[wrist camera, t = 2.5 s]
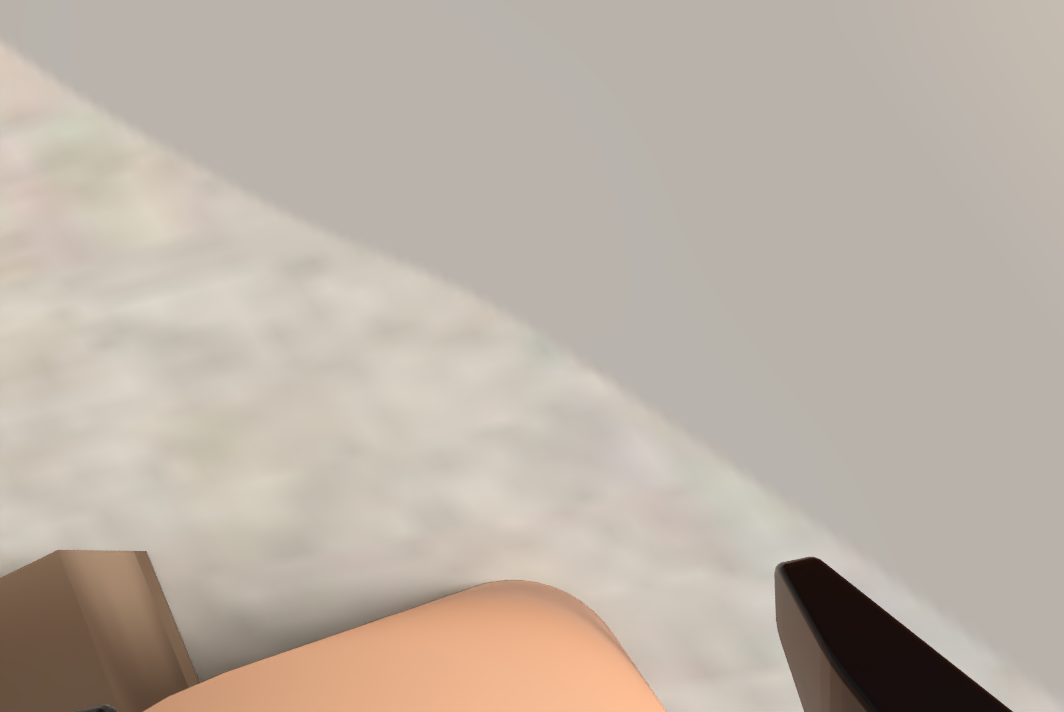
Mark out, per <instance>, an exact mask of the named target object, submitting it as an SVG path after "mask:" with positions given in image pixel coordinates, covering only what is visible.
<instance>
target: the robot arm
mask: <svg viewBox="0 0 1064 712" xmlns="http://www.w3.org/2000/svg"><path fill="white" fill-rule="evenodd" d="M774 577H775V604H776V622H777V628H778V633H779V637H780V640H781V643H782V647H783V650H784V652H785V655H786V658H787V661H788V664H789V667H790V670H791V673H792V676H793V679H794V682H795V685H796V688H797V691H798V694H799V697H800V700H801V703H802V706H803V709H804V712H1013V711H1011V710H1010V709H1009V708H1008V707H1006V706H1005V705H1004V704H1002V703H1001V702H1000V701H999V700H997V699H996V698H995V697H994V696H992V695H991V694H990V693H989V692H987V691H986V690H985V689H984V688H982V687H981V686H980V685H978V684H977V683H976V682H975V681H973V680H972V679H971V678H970V677H968V676H967V675H966V674H965V673H963V672H962V671H961V670H960V669H958V668H957V667H956V666H954V665H953V664H952V663H951V662H949V661H948V660H947V659H946V658H944V657H943V656H942V655H941V654H939V653H938V652H937V651H935V650H934V649H933V648H932V647H930V646H929V645H928V644H927V643H925V642H924V641H923V640H922V639H920V638H919V637H918V636H917V635H915V634H914V633H913V632H911V631H910V630H909V629H908V628H906V627H905V626H904V625H903V624H901V623H900V622H899V621H898V620H896V619H895V618H894V617H892V616H891V615H890V614H889V613H887V612H886V611H885V610H884V609H882V608H881V607H880V606H879V605H877V604H876V603H875V602H874V601H872V600H871V599H870V598H868V597H867V596H866V595H865V594H863V593H862V592H861V591H860V590H858V589H857V588H856V587H855V586H853V585H852V584H851V583H849V582H848V581H847V580H846V579H844V578H843V577H842V576H841V575H839V574H838V573H837V572H836V571H834V570H833V569H832V568H831V567H829V566H828V565H827V564H825V563H824V562H823V561H822V560H820V559H818V558H815V557H806V558H801V559H796V560H792V561H787V562H782V563H780V564H778V565H777V566H776V569H775V575H774ZM72 712H118V711H117V709H116V708H115V707H113V706H111V705H109V704H102V705H98V706H93V707H88V708H83V709H78V710H75V711H72Z"/></svg>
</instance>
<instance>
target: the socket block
mask: <svg viewBox="0 0 1064 712" xmlns="http://www.w3.org/2000/svg"><path fill="white" fill-rule="evenodd" d="M199 683H200V682H199V680H198V678H197V675H196V673H195V670H194V668H193V665H192V663H191V660H190V658H189V655H188V653H187V650H186V648H185V645H184V643H183V640H182V638H181V636H180V633H179V631H178V628H177V626H176V623H175V621H174V618H173V616H172V613H171V611H170V608H169V606H168V603H167V601H166V599H165V596H164V594H163V591H162V589H161V586H160V584H159V581H158V579H157V576H156V574H155V571H154V569H153V566H152V564H151V561H150V559H149V557H148V554H147V552H146V551H86V550H57V551H55V552H53V553H51V554H49V555H47V556H45V557H43V558H41V559H39V560H37V561H35V562H33V563H31V564H29V565H27V566H24V567H22V568H20V569H18V570H16V571H14V572H12V573H10V574H8V575H6V576H4V577H2V578H0V712H72V711H75V710H78V709H83V708H88V707H93V706H98V705H102V704H109V705H111V706H113V707H115V708H116V709H117V711H118V712H143V711H145V710H146V709H148V708H150V707H152V706H153V705H155V704H157V703H158V702H160V701H162V700H163V699H165V698H167V697H169V696H171V695H174V694H176V693H178V692H181V691H183V690H185V689H188V688H190V687H192V686H195V685H197V684H199Z"/></svg>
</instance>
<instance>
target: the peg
mask: <svg viewBox="0 0 1064 712" xmlns="http://www.w3.org/2000/svg"><path fill="white" fill-rule="evenodd" d="M143 712H667V711H666V710H665V708H664V707H663V705H662V704H661V703H660V701H659V700H658V698H657V697H656V695H655V694H654V692H653V691H652V689H651V688H650V687H649V685H648V684H647V682H646V681H645V679H644V678H643V676H642V675H641V673H640V672H639V671H638V669H637V668H636V666H635V665H634V663H633V662H632V660H631V659H630V657H629V656H628V654H627V653H626V652H625V650H624V649H623V647H622V646H621V644H620V643H619V641H618V640H617V638H616V637H615V636H614V634H613V633H612V632H611V630H610V629H609V628H608V626H607V625H606V624H605V622H604V621H603V620H602V619H601V618H600V617H599V616H598V615H597V614H596V613H595V612H594V611H593V610H592V609H590V608H589V607H588V606H586V605H585V604H584V603H583V602H581V601H580V600H578V599H577V598H575V597H573V596H572V595H570V594H568V593H566V592H564V591H562V590H559V589H557V588H555V587H552V586H549V585H545V584H541V583H538V582H531V581H523V580H504V581H497V582H490V583H486V584H483V585H479V586H476V587H473V588H470V589H467V590H464V591H461V592H458V593H455V594H452V595H449V596H446V597H443V598H441V599H438V600H435V601H432V602H429V603H426V604H423V605H420V606H417V607H414V608H411V609H409V610H406V611H403V612H400V613H397V614H394V615H391V616H388V617H385V618H382V619H379V620H377V621H374V622H371V623H368V624H365V625H362V626H359V627H356V628H353V629H350V630H347V631H345V632H342V633H339V634H336V635H333V636H330V637H327V638H324V639H321V640H318V641H315V642H313V643H310V644H307V645H304V646H301V647H298V648H295V649H292V650H289V651H286V652H283V653H281V654H278V655H275V656H272V657H269V658H266V659H263V660H260V661H257V662H254V663H251V664H249V665H246V666H243V667H240V668H237V669H234V670H231V671H228V672H225V673H223V674H221V675H218V676H216V677H214V678H211V679H209V680H207V681H204V682H202V683H199V684H197V685H195V686H192V687H190V688H188V689H185V690H183V691H181V692H178V693H176V694H174V695H171V696H169V697H167V698H165V699H163V700H162V701H160V702H158V703H157V704H155V705H153V706H152V707H150V708H148V709H146V710H145V711H143Z"/></svg>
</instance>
